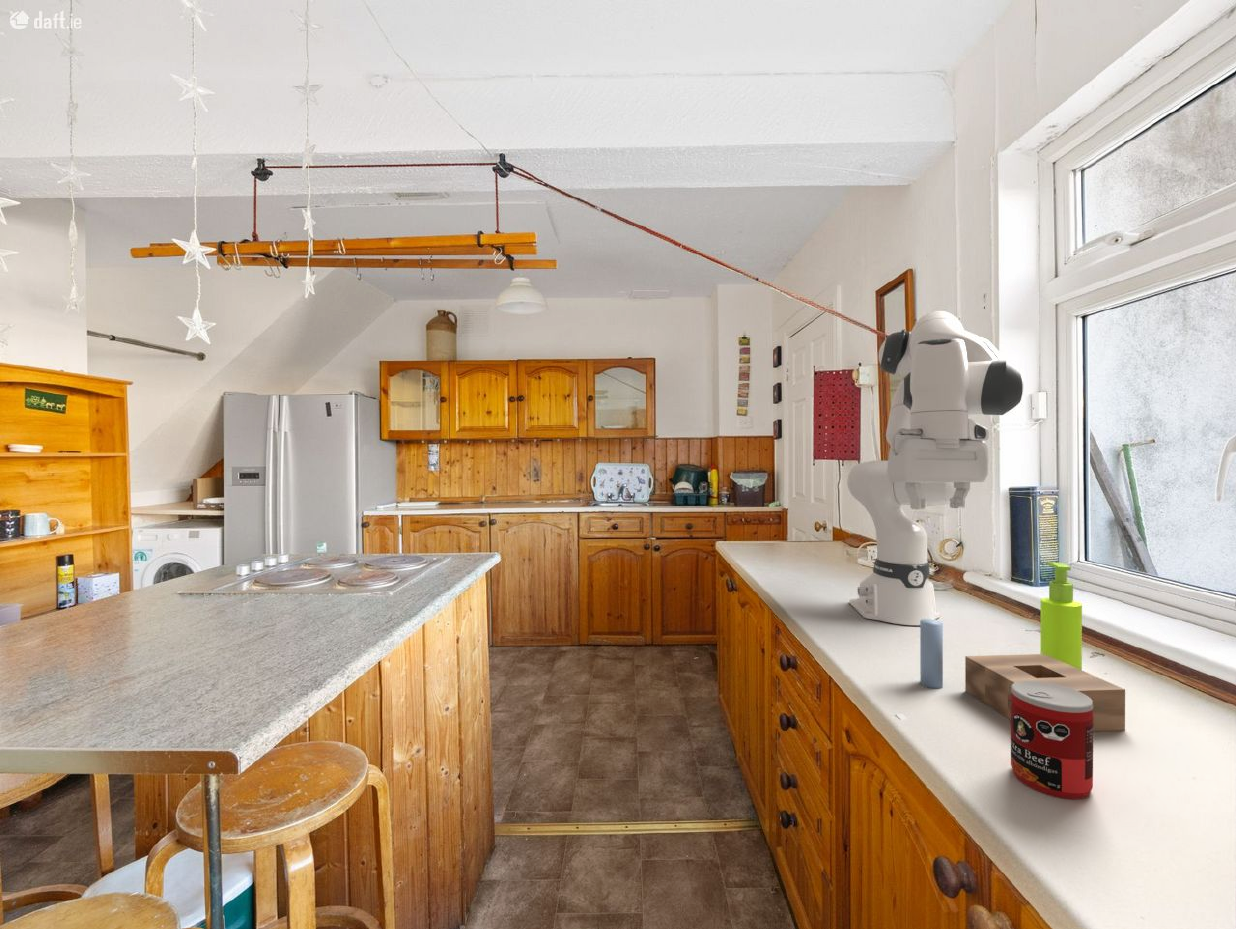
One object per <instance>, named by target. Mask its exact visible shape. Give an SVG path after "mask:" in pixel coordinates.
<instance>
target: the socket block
mask: <svg viewBox="0 0 1236 929" xmlns="http://www.w3.org/2000/svg"><path fill="white" fill-rule="evenodd" d="M964 657H965V667H964V668H965V669H964V670H965V672H964V675H965V676H964V678H965V683H964V684H965V687H964V689H965V692H966V693H967V694H969V695H970V696H973V697H974V698H975V699H976V700H977V699H978V700H979V701H980V702H982V703H984V704H985V705H987V706H988V707H990V708H992V710H994V711H996V712H998V713H999V714H1001V715H1003V716H1004V717H1006V718H1007V719H1009V720H1010V721H1011V686H1012V684H1013V683H1015V682H1019V681H1041V682H1048V683H1053V684H1058V685H1062V686H1065V687H1068V688H1071V689H1074V690H1077V691H1079V692H1081V693H1083V694H1085V695H1087V696H1088V697H1089V698H1091V700H1092V702H1093V716H1094V726H1093V732H1112V731H1126V689H1125V688H1123V687H1120V686H1118V685H1116V684H1114V683H1112V682H1109V681H1107V680H1105V679H1102V678H1100V677H1098V676H1095V675H1093V674H1091V673H1089V672H1086V671H1084V670H1083V669H1082V670H1080V669H1077V668H1075V667H1073V666H1071V665H1068V664H1066V663H1064V662H1061V661H1059V660H1057V659H1055V658H1052V657H1050V656H1048V655H1045V654H1040V653H1036V654H1035V653H1034V654H996V655H965V656H964Z"/></svg>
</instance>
